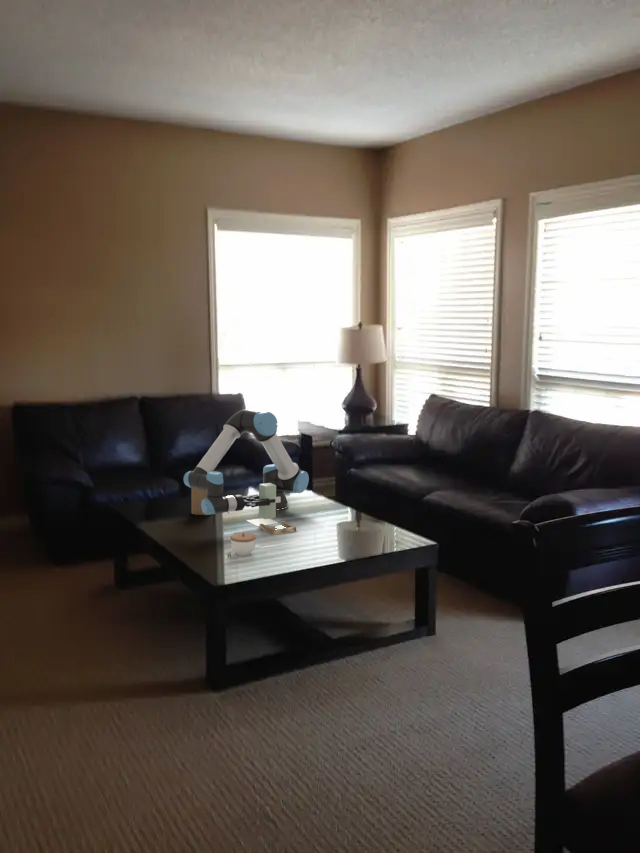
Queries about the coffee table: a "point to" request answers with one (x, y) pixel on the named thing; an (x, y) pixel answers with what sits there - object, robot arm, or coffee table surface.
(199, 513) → the block
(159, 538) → the coffee table surface
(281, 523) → the shallow wooden tray
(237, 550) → the lidded jar
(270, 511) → the tall block
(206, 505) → the robot arm
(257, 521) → the pad
